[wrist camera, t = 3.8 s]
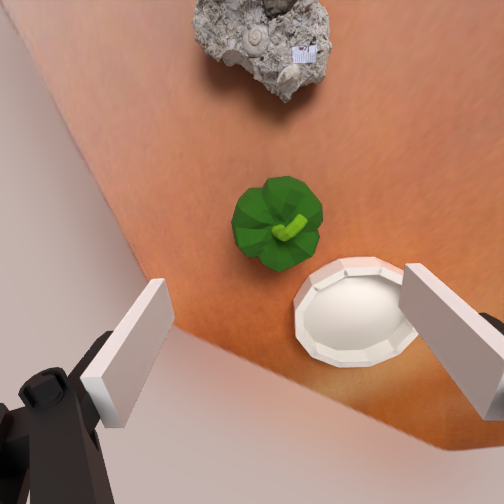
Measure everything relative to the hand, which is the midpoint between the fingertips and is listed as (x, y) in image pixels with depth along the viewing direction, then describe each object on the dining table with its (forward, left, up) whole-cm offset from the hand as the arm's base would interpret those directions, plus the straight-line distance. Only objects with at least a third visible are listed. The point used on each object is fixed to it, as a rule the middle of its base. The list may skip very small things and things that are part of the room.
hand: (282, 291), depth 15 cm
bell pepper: (0, 0, -17) cm, 17 cm away
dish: (+14, +9, -17) cm, 24 cm away
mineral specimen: (-16, 0, -17) cm, 23 cm away
